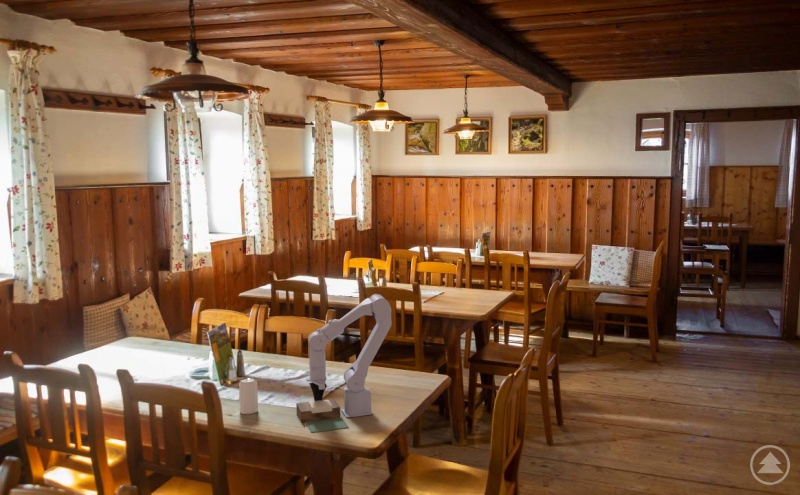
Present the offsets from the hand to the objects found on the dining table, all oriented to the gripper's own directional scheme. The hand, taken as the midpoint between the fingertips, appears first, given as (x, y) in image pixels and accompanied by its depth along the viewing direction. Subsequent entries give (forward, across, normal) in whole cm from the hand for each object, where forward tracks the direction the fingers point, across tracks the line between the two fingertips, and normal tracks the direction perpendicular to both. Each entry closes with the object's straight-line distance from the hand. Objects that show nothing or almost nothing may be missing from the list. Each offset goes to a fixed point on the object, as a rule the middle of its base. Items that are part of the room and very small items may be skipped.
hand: (318, 402), depth 239 cm
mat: (+5, +10, +1) cm, 11 cm away
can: (+5, -13, -23) cm, 27 cm away
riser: (+5, 0, 0) cm, 5 cm away
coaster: (+1, +4, 0) cm, 4 cm away
